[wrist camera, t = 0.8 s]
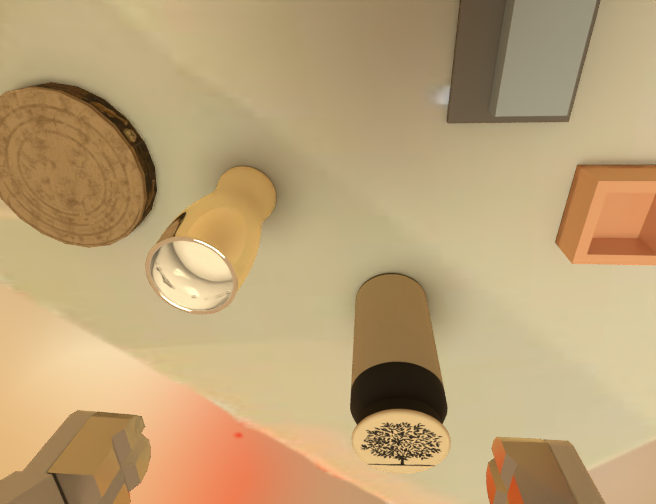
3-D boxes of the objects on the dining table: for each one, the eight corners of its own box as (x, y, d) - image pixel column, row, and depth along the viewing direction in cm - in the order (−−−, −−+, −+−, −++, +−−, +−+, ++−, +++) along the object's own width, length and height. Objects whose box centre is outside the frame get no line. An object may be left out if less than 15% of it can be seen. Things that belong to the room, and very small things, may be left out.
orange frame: (577, 165, 37) (598, 181, 33) (672, 164, 36) (704, 181, 33) (555, 242, 41) (572, 263, 37) (640, 243, 40) (665, 265, 37)
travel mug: (358, 269, 45) (352, 406, 29) (431, 275, 44) (464, 417, 29) (353, 324, 49) (345, 470, 33) (420, 330, 48) (443, 481, 33)
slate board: (514, -50, 29) (523, -54, 27) (595, -54, 28) (611, -59, 27) (488, 110, 35) (495, 116, 33) (556, 109, 34) (567, 115, 32)
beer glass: (275, 159, 39) (228, 232, 26) (285, 223, 43) (248, 316, 30) (205, 163, 40) (127, 236, 27) (221, 226, 43) (159, 317, 31)
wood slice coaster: (-26, 82, 38) (-55, 87, 36) (135, 81, 37) (118, 86, 34) (38, 232, 46) (18, 245, 44) (172, 235, 45) (161, 249, 42)
